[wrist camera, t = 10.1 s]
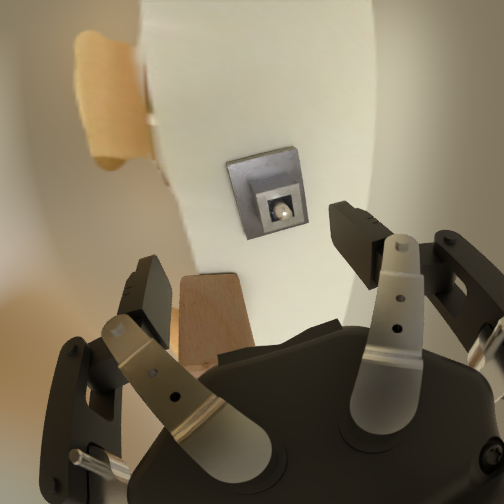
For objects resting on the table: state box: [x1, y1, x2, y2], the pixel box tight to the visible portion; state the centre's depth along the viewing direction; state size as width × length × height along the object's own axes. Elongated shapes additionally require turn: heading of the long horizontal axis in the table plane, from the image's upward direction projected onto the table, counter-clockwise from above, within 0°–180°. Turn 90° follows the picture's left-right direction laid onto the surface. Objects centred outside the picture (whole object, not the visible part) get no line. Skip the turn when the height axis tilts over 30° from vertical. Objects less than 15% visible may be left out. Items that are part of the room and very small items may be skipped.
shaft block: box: [226, 147, 309, 240], centre depth 37 cm, size 12×10×9 cm
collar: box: [249, 173, 304, 233], centre depth 37 cm, size 6×6×5 cm
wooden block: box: [179, 274, 255, 379], centre depth 41 cm, size 10×10×20 cm
